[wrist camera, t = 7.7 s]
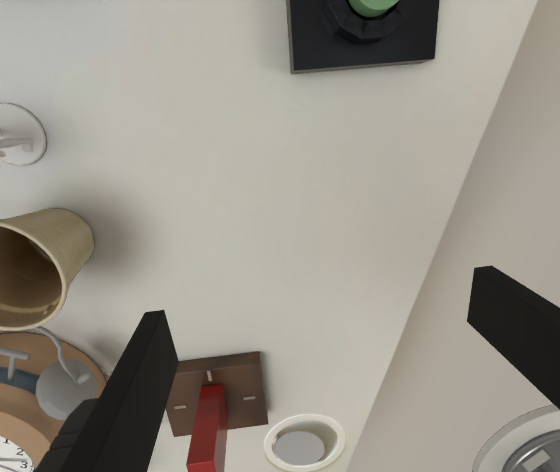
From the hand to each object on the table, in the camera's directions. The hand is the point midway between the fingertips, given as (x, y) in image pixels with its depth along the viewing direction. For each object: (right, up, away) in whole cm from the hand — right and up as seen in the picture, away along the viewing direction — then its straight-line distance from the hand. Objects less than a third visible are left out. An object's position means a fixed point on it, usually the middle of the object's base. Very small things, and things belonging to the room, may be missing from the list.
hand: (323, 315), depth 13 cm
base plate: (-10, -16, +27) cm, 33 cm away
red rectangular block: (-10, -17, +25) cm, 31 cm away
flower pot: (-24, +3, +18) cm, 30 cm away
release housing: (+5, +23, +13) cm, 27 cm away
